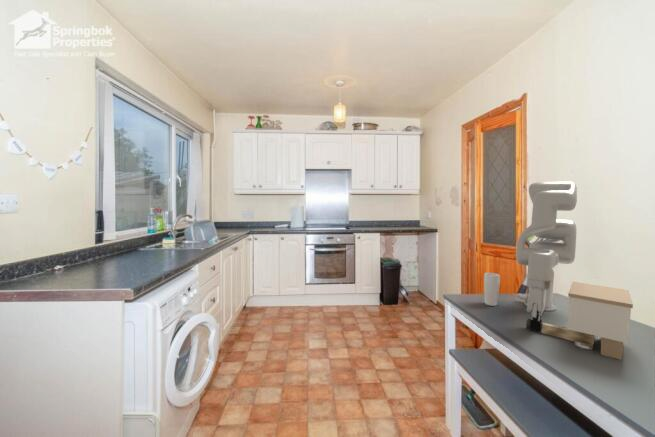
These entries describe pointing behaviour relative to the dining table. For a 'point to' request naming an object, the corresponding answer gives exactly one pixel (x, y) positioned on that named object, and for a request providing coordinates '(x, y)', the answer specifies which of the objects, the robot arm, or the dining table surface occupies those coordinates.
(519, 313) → the dining table surface
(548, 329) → the two-tone wooden stick
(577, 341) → the steel disc
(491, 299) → the drinking glass
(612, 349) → the cabinet
